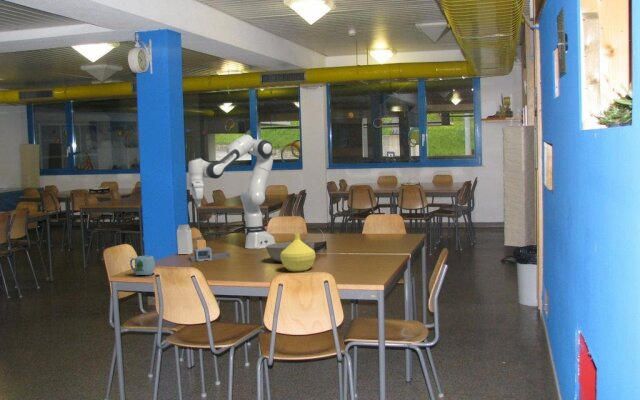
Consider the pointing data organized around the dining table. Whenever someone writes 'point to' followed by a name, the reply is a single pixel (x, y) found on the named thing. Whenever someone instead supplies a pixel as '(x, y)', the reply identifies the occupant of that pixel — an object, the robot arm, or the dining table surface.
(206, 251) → the pale blue storage bin
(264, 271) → the dining table surface
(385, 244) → the dining table surface
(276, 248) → the bowl
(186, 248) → the milk carton
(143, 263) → the mug
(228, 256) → the rod
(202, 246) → the block
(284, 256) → the vase
